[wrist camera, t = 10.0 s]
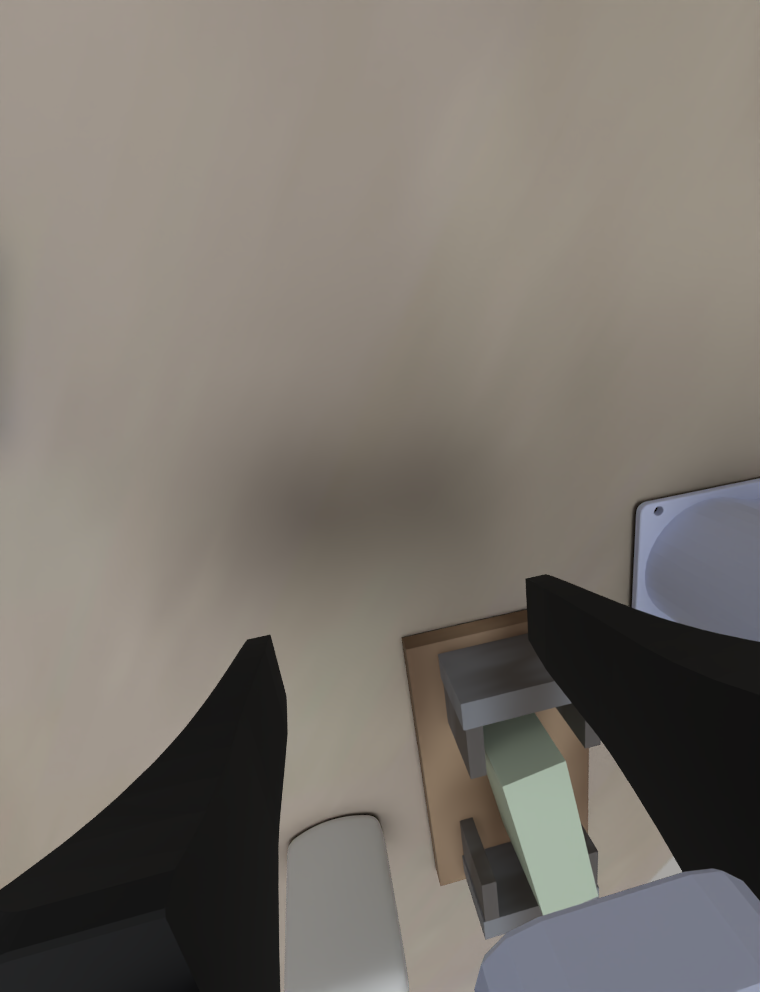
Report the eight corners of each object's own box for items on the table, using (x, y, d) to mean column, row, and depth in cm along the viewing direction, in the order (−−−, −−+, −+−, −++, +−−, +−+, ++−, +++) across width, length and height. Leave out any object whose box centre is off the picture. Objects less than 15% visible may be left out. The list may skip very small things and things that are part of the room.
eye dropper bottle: (369, 866, 28) (416, 1205, 17) (280, 862, 27) (267, 1228, 16) (390, 813, 27) (454, 1138, 16) (299, 806, 26) (298, 1156, 15)
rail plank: (514, 682, 24) (565, 760, 20) (547, 804, 28) (598, 896, 23) (463, 702, 24) (502, 786, 20) (503, 823, 28) (544, 919, 23)
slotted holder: (579, 597, 25) (636, 648, 21) (578, 827, 31) (623, 904, 26) (401, 637, 24) (423, 700, 19) (436, 869, 29) (459, 956, 25)
